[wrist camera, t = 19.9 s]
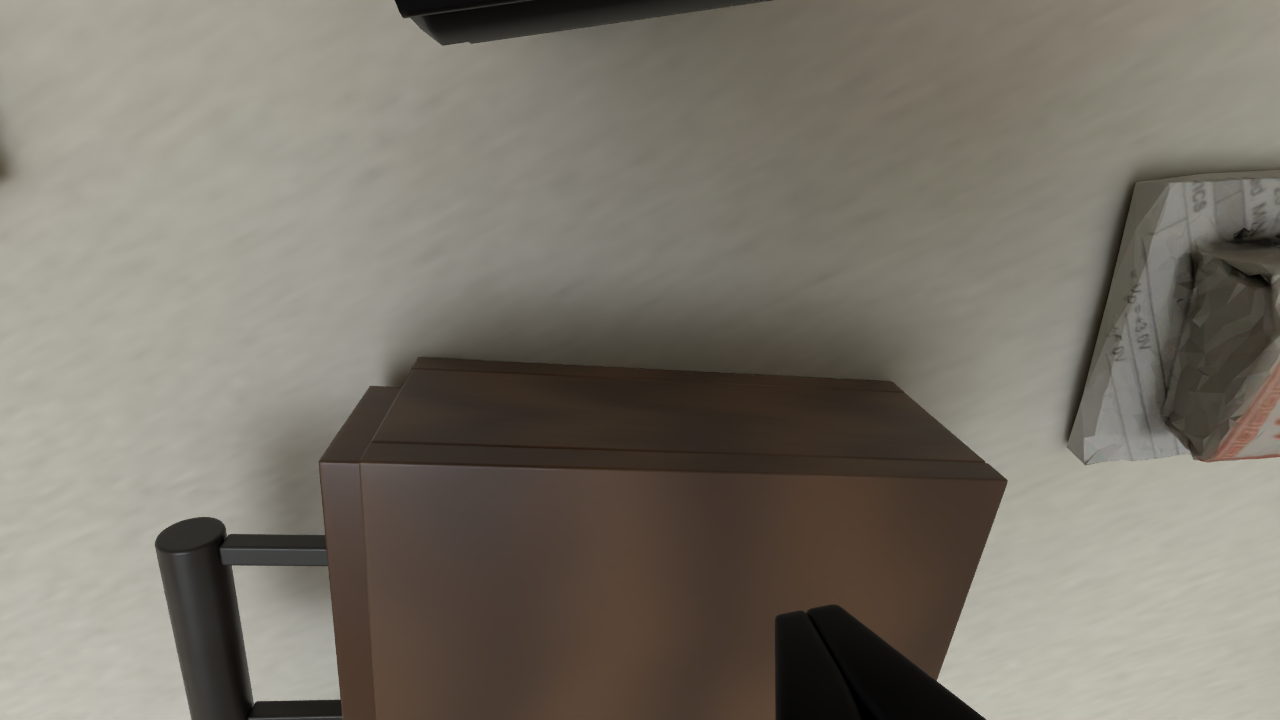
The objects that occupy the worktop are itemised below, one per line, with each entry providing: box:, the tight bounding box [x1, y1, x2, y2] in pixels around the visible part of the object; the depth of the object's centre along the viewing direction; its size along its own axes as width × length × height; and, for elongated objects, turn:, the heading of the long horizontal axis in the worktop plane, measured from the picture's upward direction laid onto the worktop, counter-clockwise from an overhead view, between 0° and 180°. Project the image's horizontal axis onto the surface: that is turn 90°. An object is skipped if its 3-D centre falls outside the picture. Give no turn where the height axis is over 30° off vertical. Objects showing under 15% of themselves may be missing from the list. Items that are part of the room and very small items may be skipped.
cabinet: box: [359, 358, 1007, 720], centre depth 21 cm, size 16×14×6 cm
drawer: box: [155, 386, 402, 720], centre depth 20 cm, size 19×13×4 cm, turn 84°
